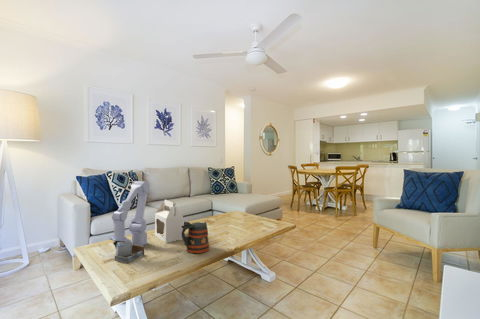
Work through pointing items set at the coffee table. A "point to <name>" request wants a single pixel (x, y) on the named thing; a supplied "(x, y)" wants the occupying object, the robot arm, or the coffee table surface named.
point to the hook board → (137, 252)
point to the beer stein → (196, 237)
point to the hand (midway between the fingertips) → (119, 252)
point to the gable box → (168, 222)
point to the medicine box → (124, 248)
